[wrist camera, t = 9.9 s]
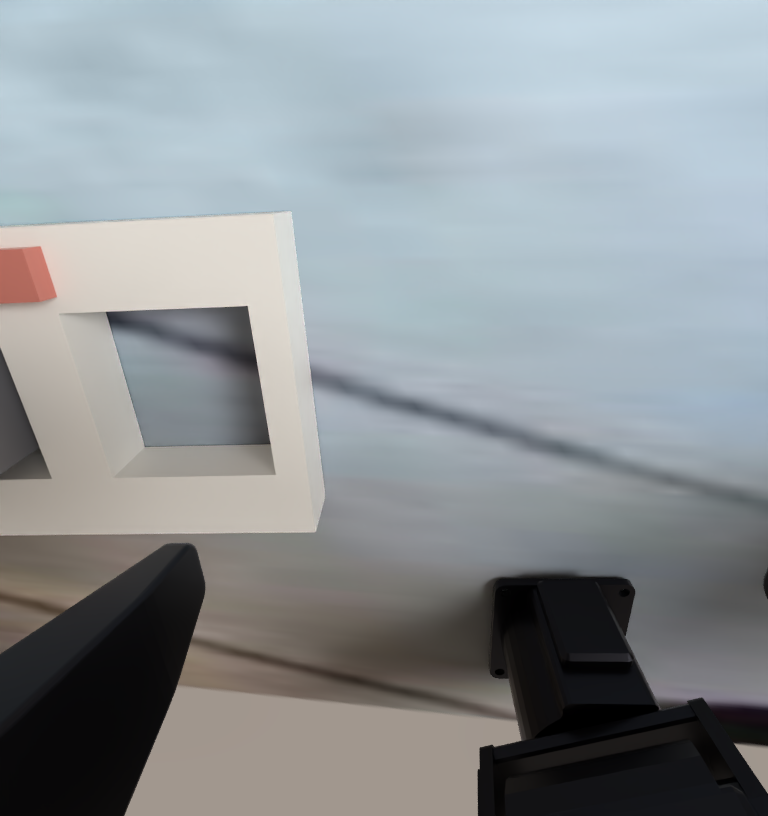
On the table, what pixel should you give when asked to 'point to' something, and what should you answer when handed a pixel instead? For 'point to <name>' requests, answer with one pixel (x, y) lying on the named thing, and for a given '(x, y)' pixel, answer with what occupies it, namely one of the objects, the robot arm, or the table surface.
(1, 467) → the plug
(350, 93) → the table surface
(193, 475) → the faceplate
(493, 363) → the table surface
